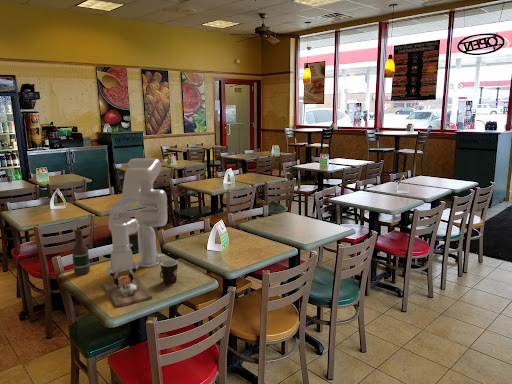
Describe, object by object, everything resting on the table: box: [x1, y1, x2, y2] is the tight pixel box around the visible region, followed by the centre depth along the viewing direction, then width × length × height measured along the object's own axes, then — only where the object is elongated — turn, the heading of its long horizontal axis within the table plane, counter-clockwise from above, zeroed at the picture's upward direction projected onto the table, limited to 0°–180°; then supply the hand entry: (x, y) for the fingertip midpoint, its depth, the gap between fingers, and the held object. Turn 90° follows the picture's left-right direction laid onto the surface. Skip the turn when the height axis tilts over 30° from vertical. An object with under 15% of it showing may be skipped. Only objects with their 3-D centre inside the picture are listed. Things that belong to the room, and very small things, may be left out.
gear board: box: [103, 276, 153, 308], centre depth 187 cm, size 16×26×6 cm, turn 32°
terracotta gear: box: [117, 275, 131, 287], centre depth 191 cm, size 6×6×3 cm
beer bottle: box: [72, 228, 91, 276], centre depth 208 cm, size 8×8×24 cm
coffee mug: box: [159, 259, 179, 285], centre depth 197 cm, size 12×9×10 cm
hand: (123, 283), depth 191 cm, fingers closed on terracotta gear, 6 cm apart
